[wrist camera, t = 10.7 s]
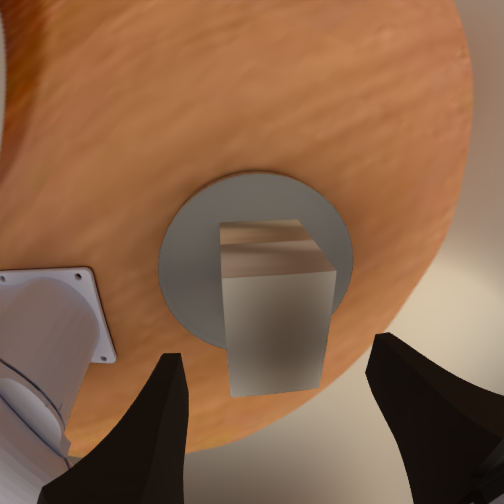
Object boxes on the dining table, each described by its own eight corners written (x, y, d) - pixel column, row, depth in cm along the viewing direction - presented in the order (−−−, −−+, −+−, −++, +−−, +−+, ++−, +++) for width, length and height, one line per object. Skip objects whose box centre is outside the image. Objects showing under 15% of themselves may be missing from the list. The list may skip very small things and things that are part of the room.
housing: (225, 320, 18) (230, 397, 13) (219, 222, 16) (221, 278, 11) (292, 315, 19) (319, 387, 13) (297, 219, 16) (336, 271, 11)
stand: (176, 332, 22) (173, 356, 19) (155, 173, 17) (146, 181, 15) (329, 321, 22) (340, 342, 20) (344, 167, 18) (361, 175, 16)
